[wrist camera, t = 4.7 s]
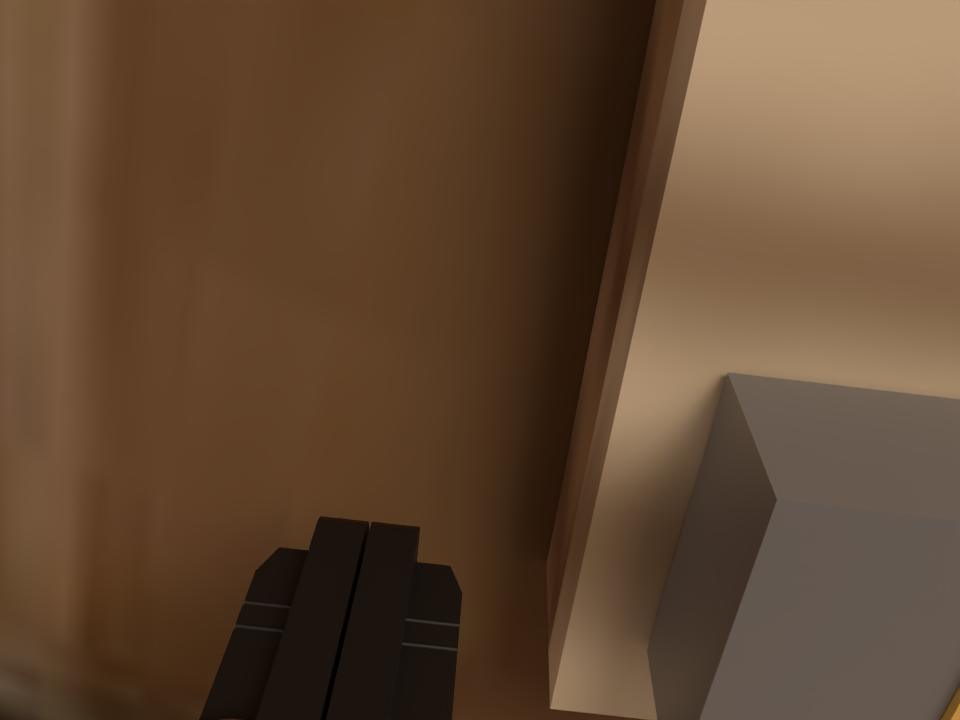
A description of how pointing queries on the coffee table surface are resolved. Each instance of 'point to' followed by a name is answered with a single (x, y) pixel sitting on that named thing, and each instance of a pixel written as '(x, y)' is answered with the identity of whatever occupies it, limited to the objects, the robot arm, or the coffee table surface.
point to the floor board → (749, 279)
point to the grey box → (816, 560)
